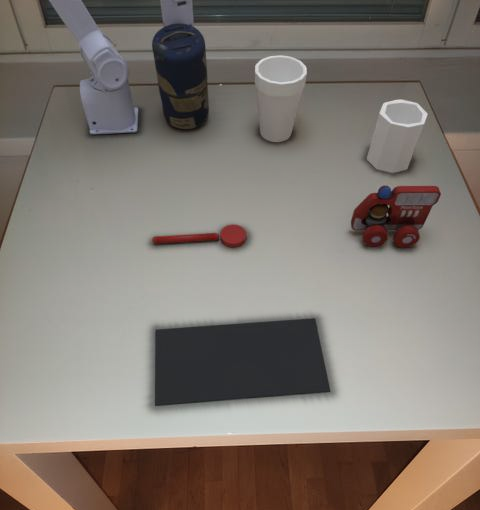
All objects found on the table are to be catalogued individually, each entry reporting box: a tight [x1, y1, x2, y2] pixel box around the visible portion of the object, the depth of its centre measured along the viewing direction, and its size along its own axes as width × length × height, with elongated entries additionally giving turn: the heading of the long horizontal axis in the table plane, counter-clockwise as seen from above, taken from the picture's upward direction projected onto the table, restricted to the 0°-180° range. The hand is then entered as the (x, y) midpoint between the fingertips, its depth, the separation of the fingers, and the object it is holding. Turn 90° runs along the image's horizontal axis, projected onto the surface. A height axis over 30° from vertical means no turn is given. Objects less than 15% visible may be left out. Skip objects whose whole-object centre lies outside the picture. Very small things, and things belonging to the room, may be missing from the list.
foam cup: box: [254, 54, 308, 143], centre depth 91 cm, size 10×9×13 cm
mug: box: [366, 98, 429, 174], centre depth 89 cm, size 12×9×10 cm
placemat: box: [154, 317, 331, 407], centre depth 68 cm, size 24×12×1 cm, turn 95°
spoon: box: [151, 224, 247, 248], centre depth 80 cm, size 16×4×1 cm, turn 95°
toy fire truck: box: [350, 185, 442, 249], centre depth 77 cm, size 7×12×10 cm, turn 88°
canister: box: [151, 23, 210, 130], centre depth 90 cm, size 10×10×18 cm
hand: (185, 91), depth 100 cm, fingers closed
